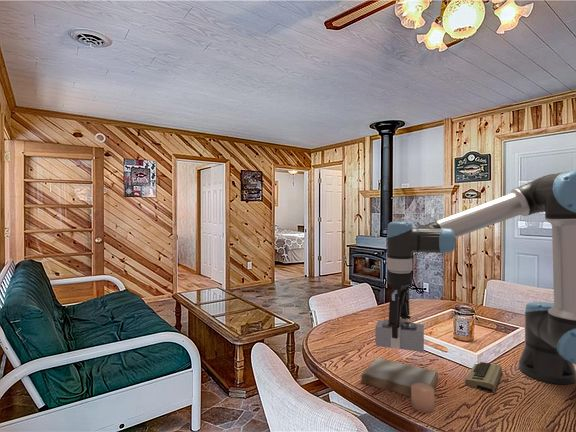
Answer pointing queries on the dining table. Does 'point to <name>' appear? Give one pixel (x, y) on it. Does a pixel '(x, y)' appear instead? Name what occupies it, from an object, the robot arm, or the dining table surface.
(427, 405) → the beige egg
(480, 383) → the computer
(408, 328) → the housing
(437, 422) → the dining table surface
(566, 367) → the robot arm
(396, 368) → the stand
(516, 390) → the dining table surface
